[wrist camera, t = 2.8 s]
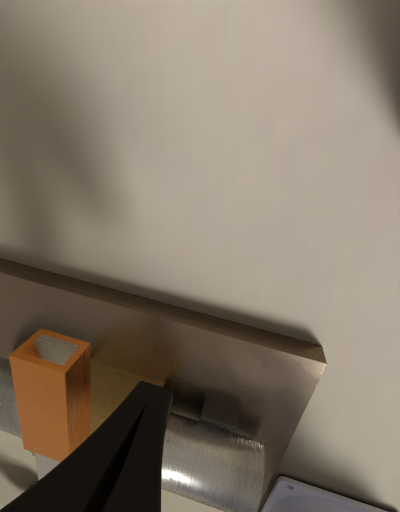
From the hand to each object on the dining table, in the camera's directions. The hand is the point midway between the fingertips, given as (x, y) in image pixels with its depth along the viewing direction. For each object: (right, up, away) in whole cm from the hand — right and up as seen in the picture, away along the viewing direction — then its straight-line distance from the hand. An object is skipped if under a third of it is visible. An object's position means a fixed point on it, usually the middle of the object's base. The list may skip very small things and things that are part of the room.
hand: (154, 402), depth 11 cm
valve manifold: (-3, -4, +11) cm, 13 cm away
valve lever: (-4, -3, +2) cm, 6 cm away
